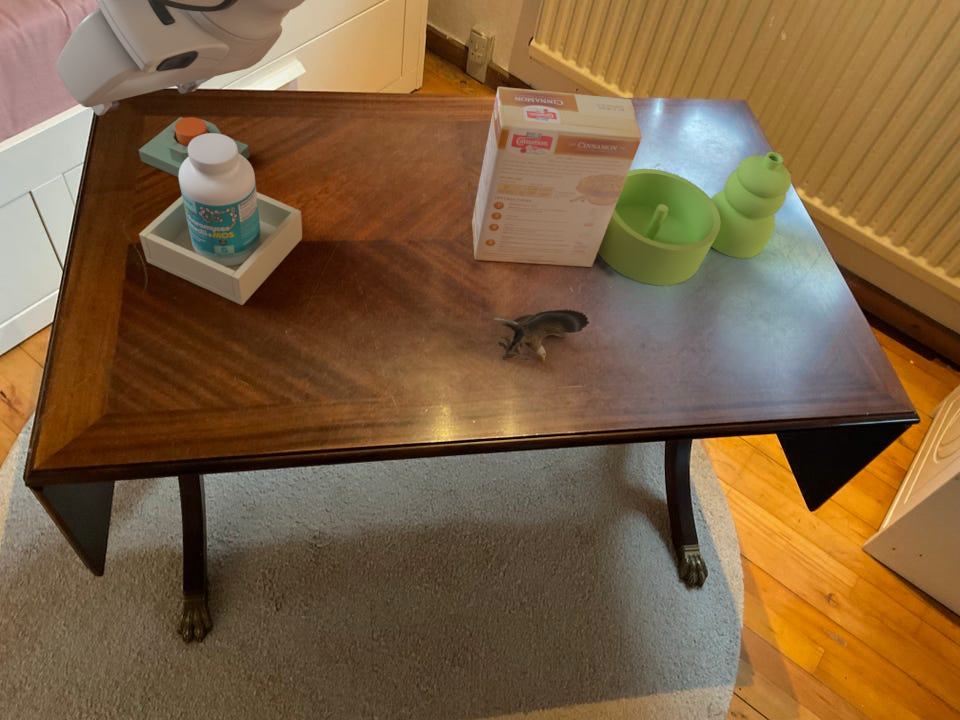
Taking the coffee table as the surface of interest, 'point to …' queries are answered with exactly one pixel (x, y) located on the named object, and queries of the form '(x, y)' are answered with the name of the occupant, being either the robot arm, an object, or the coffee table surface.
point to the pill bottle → (220, 200)
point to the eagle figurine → (539, 330)
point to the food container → (692, 220)
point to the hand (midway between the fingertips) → (142, 96)
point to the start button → (189, 129)
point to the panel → (175, 149)
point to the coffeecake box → (552, 176)
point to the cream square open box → (237, 283)
